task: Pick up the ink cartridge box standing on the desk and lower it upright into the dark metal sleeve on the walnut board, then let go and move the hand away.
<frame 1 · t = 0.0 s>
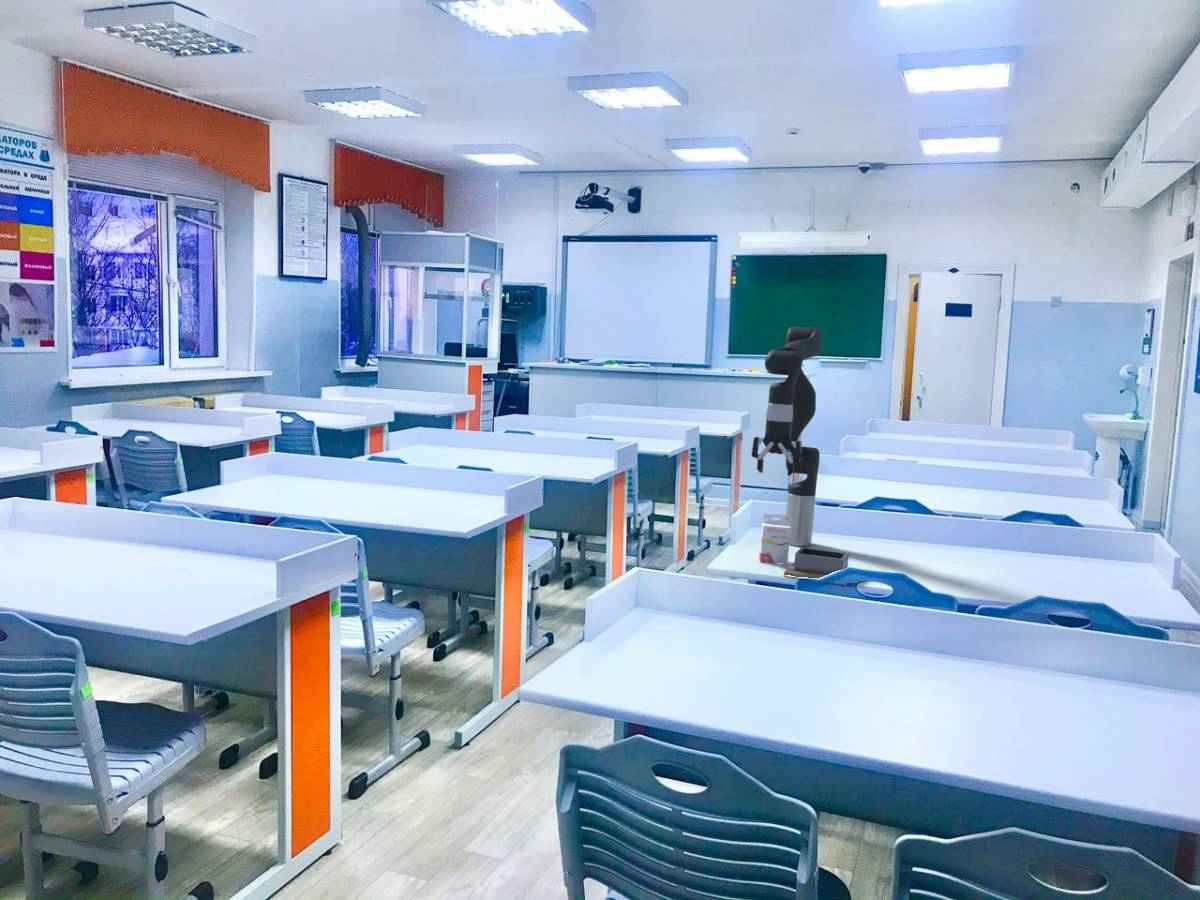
hand: (774, 473, 286), 29 cm above the table, tool pointing down, fingers open, 8 cm apart
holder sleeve: (821, 561, 288), on the base board, point 4 cm above the table
base board: (820, 574, 289), on the table
ink cartridge box: (773, 562, 302), on the table
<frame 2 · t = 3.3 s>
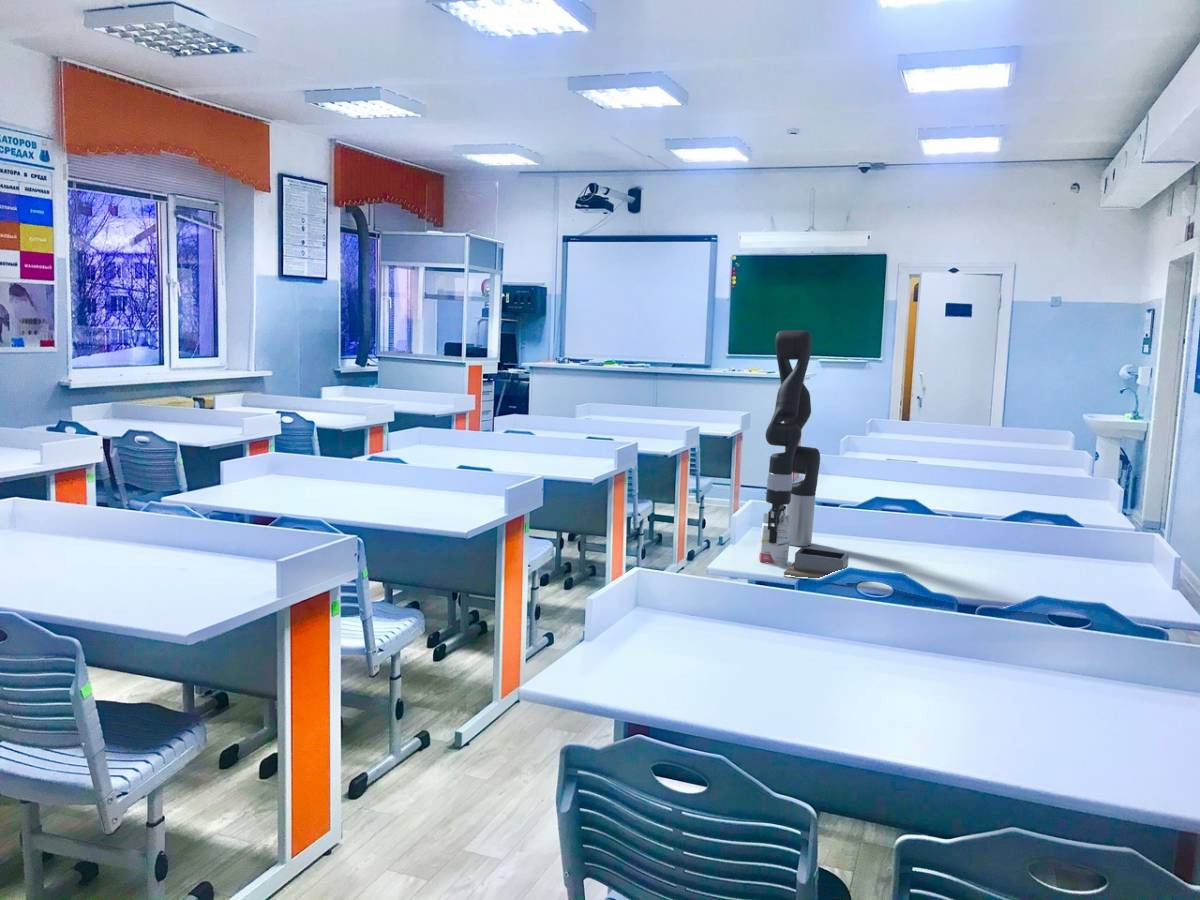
hand: (774, 541, 302), 7 cm above the table, tool pointing down, fingers closed on ink cartridge box, 5 cm apart
ink cartridge box: (773, 562, 302), on the table, touching gripper
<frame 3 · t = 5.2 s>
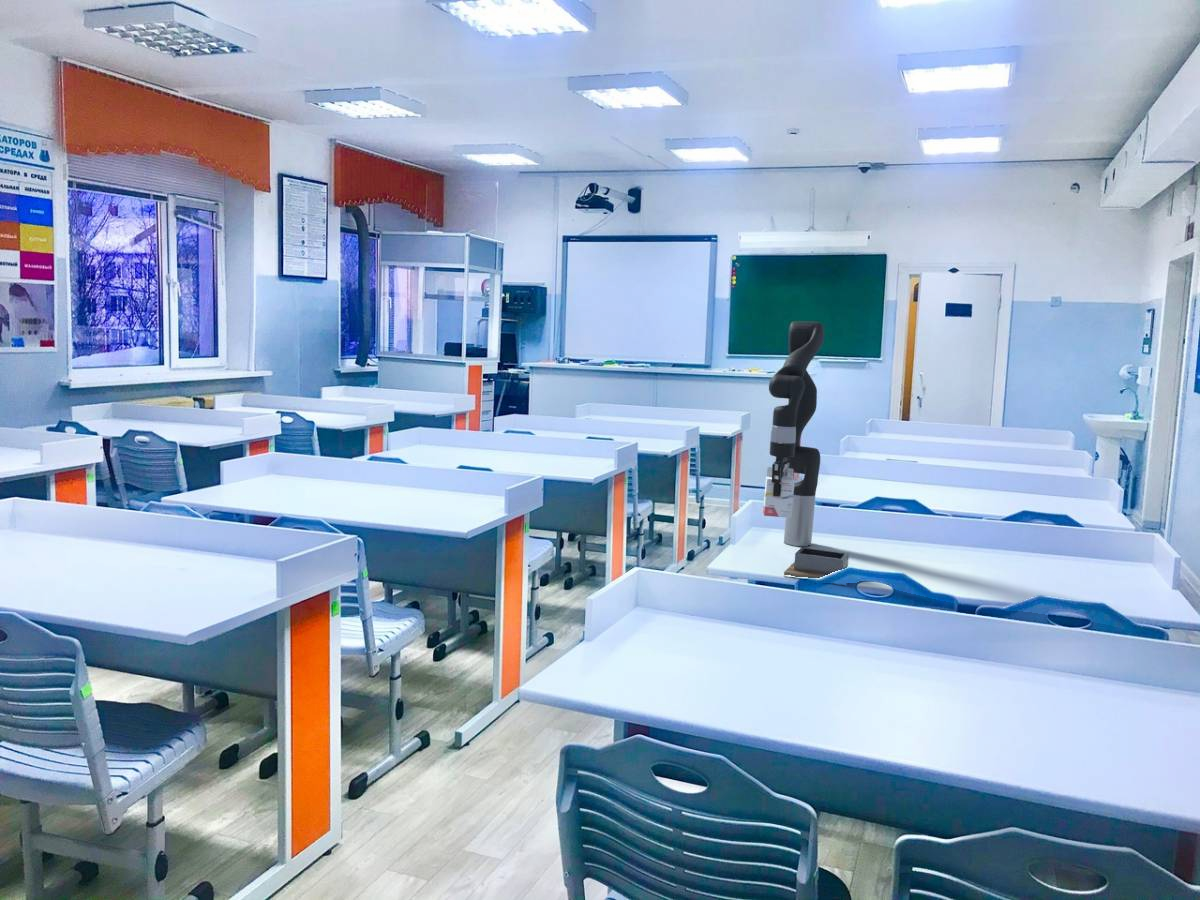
hand: (778, 494, 300), 21 cm above the table, tool pointing down, fingers closed on ink cartridge box, 5 cm apart
ink cartridge box: (777, 516, 301), point 14 cm above the table, touching gripper
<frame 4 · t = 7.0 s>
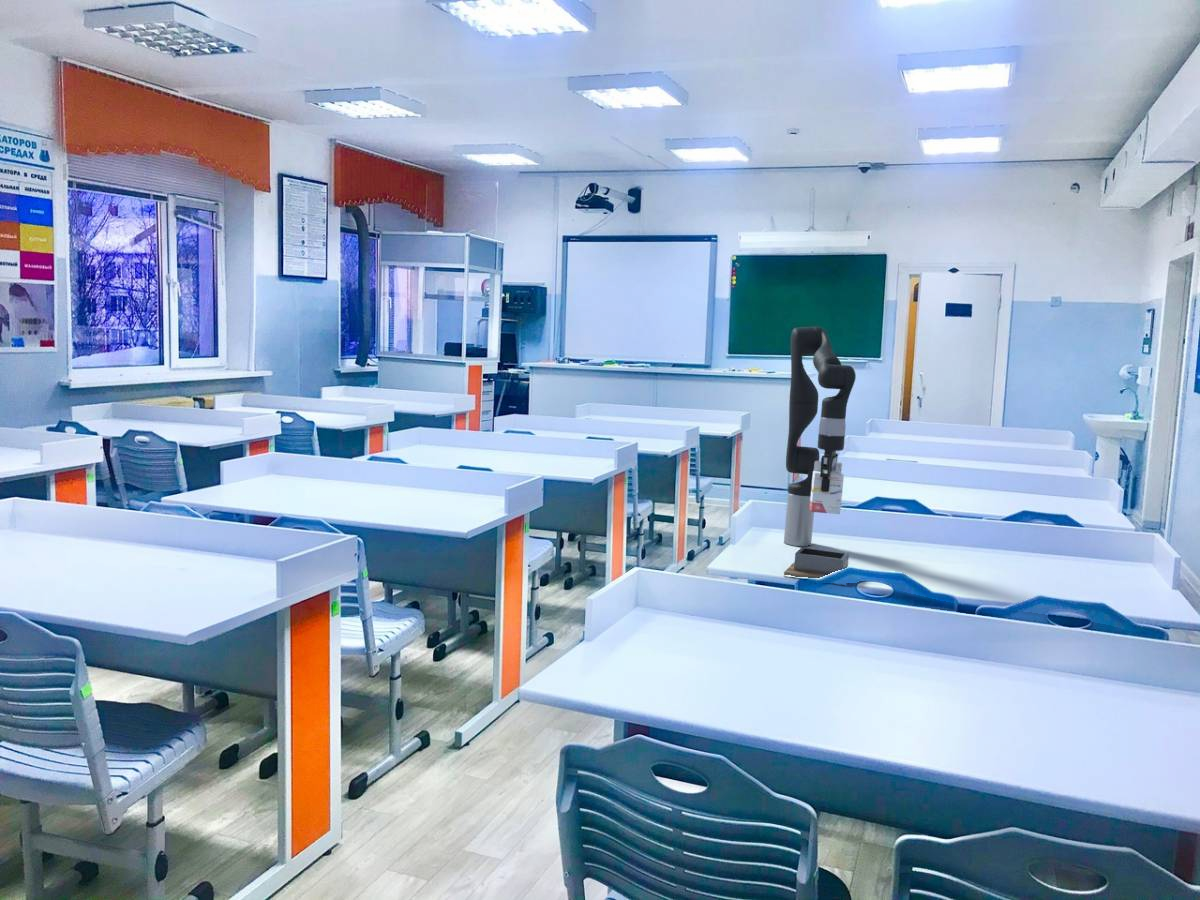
hand: (826, 489, 286), 26 cm above the table, tool pointing down, fingers closed on ink cartridge box, 5 cm apart
ink cartridge box: (824, 512, 287), point 19 cm above the table, touching gripper
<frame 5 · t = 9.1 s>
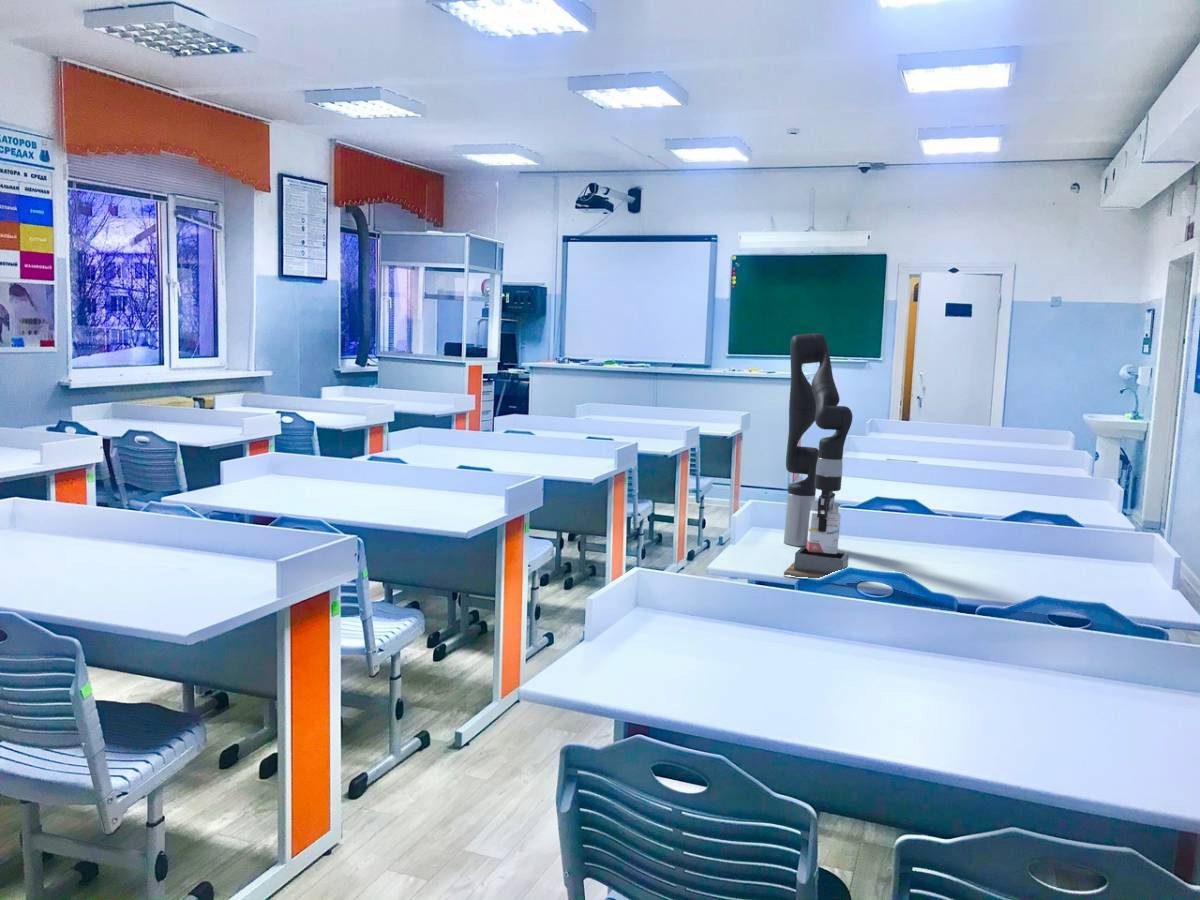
hand: (823, 529, 287), 14 cm above the table, tool pointing down, fingers closed on ink cartridge box, 5 cm apart
ink cartridge box: (821, 552, 288), point 7 cm above the table, touching gripper
when the fingers open (9 cm above the table, at t = 11.0 s): ink cartridge box drops 1 cm, resting on base board.
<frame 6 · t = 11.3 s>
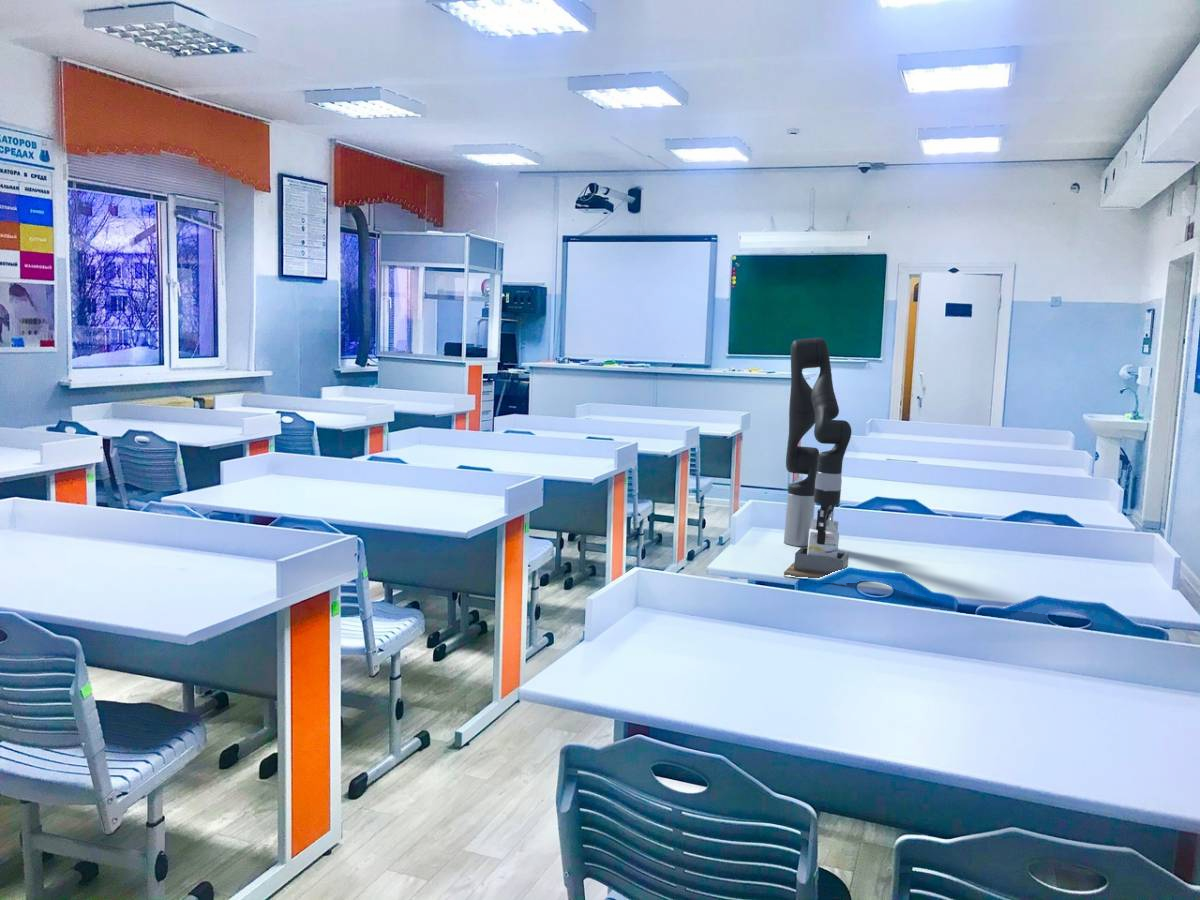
hand: (823, 541, 288), 10 cm above the table, tool pointing down, fingers open, 8 cm apart
ink cartridge box: (820, 570, 289), point 1 cm above the table, touching base board
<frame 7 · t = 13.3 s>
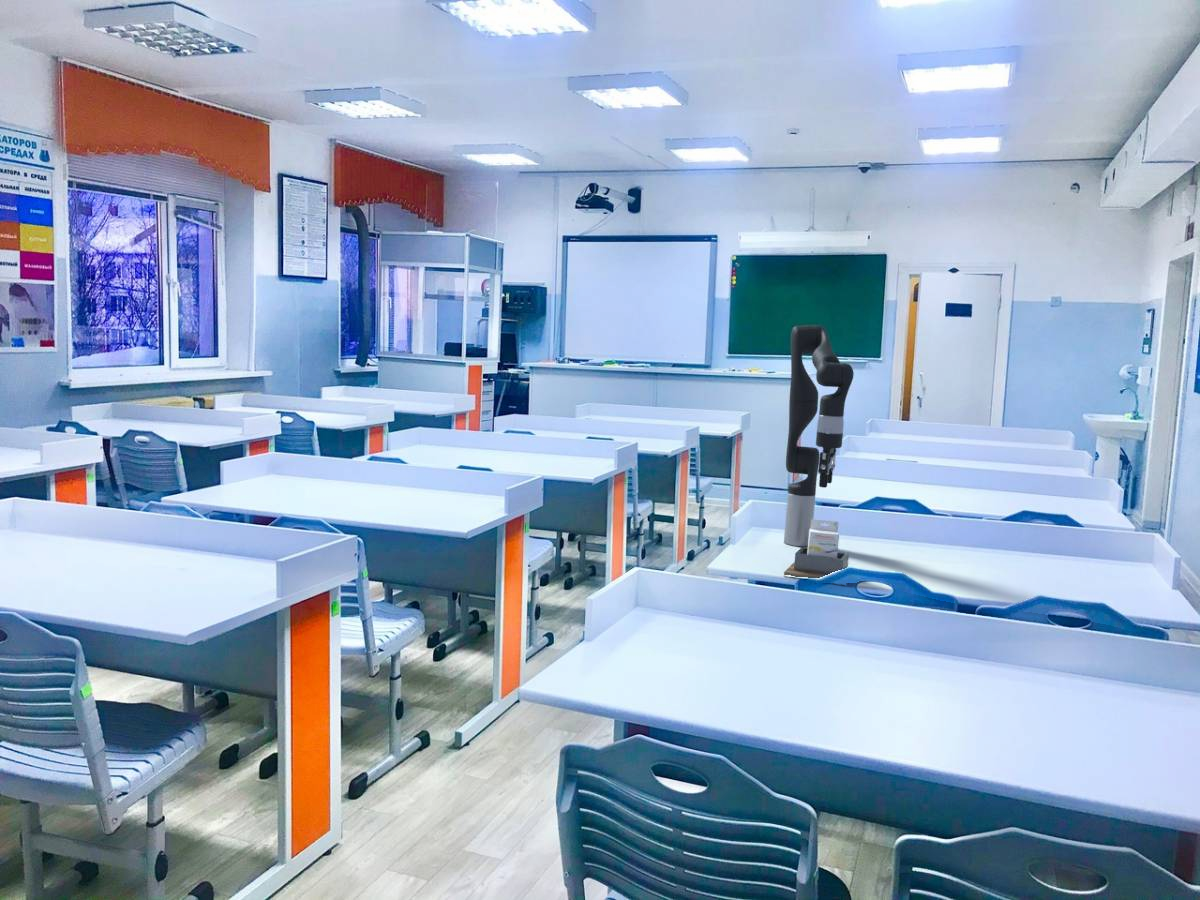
hand: (825, 485, 288), 27 cm above the table, tool pointing down, fingers open, 8 cm apart
nothing on the table moved.
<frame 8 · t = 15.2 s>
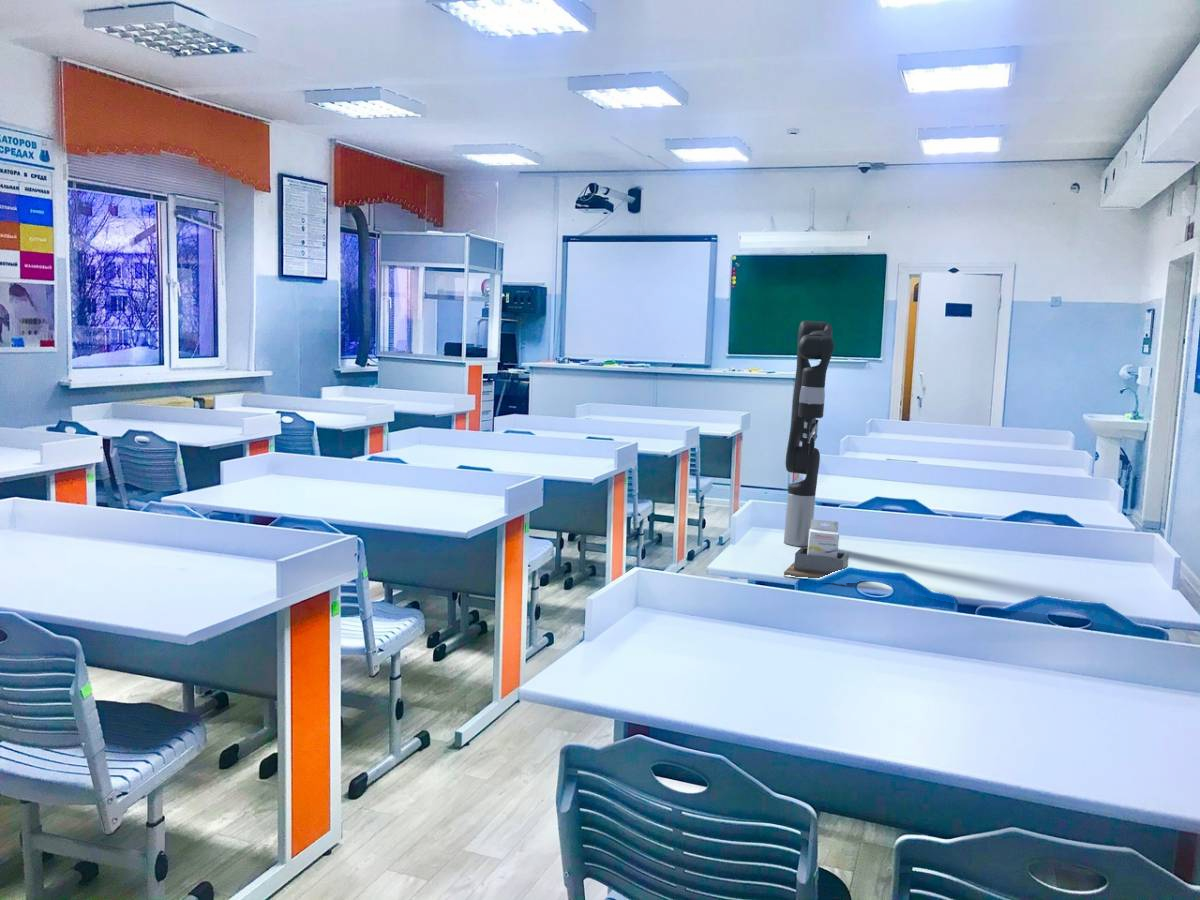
hand: (807, 454, 299), 34 cm above the table, tool pointing down, fingers open, 8 cm apart
nothing on the table moved.
at the end: ink cartridge box 0.0 cm off-centre on the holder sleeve, point 1.3 cm above the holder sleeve's base; ink cartridge box tilted 0°; the gripper is holding nothing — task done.
